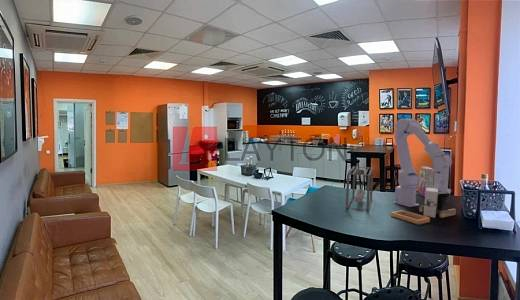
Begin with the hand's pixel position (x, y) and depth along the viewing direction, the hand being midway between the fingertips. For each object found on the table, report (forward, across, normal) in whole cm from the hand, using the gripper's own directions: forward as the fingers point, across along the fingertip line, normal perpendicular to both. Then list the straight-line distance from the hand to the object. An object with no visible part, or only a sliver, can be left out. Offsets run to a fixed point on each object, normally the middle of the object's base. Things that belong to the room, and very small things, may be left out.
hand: (439, 209), depth 146 cm
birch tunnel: (+1, -1, 0) cm, 2 cm away
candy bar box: (+2, +28, +24) cm, 37 cm away
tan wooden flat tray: (+1, -22, 0) cm, 22 cm away
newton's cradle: (+2, -21, +29) cm, 36 cm away
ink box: (+2, -7, 0) cm, 7 cm away
